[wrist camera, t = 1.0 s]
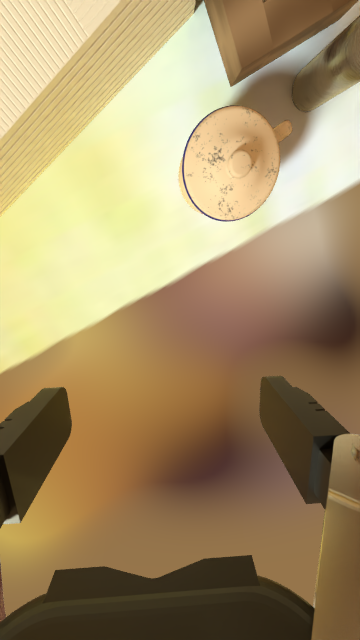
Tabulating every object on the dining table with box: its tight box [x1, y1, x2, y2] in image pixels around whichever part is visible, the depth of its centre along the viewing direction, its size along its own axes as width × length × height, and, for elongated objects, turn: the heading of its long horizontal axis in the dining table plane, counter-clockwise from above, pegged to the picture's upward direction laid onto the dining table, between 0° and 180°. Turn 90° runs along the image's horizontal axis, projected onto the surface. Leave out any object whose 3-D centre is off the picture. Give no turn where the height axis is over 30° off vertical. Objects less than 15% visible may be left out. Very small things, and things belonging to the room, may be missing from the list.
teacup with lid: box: [179, 106, 292, 221], centre depth 25 cm, size 12×9×12 cm
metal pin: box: [292, 16, 360, 112], centre depth 22 cm, size 4×4×12 cm
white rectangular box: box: [0, 0, 196, 217], centre depth 21 cm, size 32×11×11 cm, turn 128°
